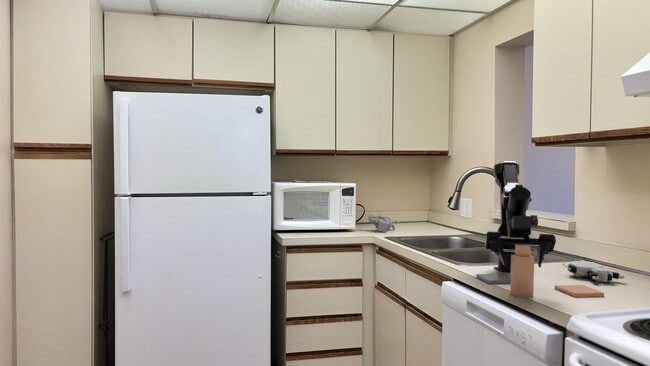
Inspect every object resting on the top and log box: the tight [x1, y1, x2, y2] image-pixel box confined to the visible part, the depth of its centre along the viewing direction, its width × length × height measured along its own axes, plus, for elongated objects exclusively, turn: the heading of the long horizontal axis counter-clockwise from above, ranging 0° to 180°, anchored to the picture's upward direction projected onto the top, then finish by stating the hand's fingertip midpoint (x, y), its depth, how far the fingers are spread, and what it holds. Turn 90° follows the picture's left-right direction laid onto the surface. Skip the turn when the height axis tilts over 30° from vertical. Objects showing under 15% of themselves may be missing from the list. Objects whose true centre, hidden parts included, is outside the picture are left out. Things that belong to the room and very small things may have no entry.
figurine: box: [367, 214, 400, 234], centre depth 264 cm, size 11×13×18 cm
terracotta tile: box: [554, 284, 605, 298], centre depth 134 cm, size 9×9×1 cm
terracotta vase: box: [509, 244, 535, 298], centre depth 131 cm, size 6×6×14 cm
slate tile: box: [476, 273, 511, 285], centre depth 148 cm, size 9×9×1 cm
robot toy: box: [561, 260, 626, 283], centre depth 152 cm, size 12×4×15 cm
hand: (522, 265), depth 131 cm, fingers open, 9 cm apart
